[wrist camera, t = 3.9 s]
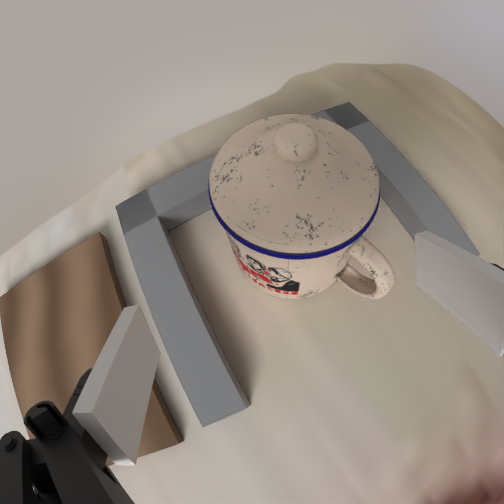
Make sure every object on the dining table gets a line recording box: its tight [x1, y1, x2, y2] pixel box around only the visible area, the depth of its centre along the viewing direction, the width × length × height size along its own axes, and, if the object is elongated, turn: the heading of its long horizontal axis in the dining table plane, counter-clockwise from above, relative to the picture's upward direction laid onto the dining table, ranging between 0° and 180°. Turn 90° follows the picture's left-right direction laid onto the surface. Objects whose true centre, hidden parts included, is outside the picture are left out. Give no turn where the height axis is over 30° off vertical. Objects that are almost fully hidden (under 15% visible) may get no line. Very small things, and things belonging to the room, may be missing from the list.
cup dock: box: [116, 102, 480, 427], centre depth 22 cm, size 23×18×2 cm
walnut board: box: [0, 232, 184, 466], centre depth 21 cm, size 14×18×1 cm
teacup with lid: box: [208, 114, 395, 299], centre depth 18 cm, size 12×9×12 cm
